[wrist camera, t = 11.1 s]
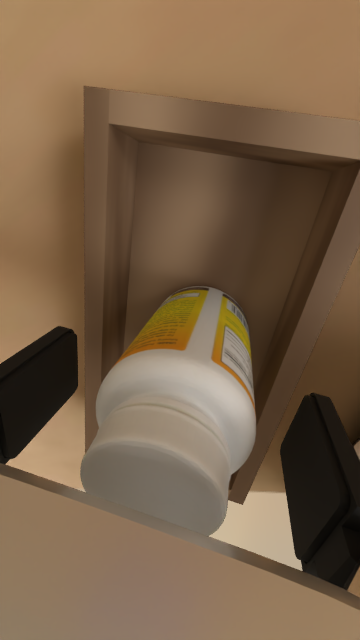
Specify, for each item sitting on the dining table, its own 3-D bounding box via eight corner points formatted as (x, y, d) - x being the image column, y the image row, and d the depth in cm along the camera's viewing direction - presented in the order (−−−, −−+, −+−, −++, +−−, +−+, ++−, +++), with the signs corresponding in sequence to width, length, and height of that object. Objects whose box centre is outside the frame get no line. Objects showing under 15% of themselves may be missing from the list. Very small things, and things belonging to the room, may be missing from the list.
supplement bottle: (146, 342, 17) (36, 502, 8) (177, 266, 14) (70, 371, 5) (222, 379, 17) (201, 585, 8) (267, 309, 14) (315, 490, 5)
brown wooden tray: (359, 151, 11) (412, 127, 8) (242, 451, 20) (242, 504, 17) (127, 119, 13) (84, 86, 9) (111, 412, 21) (85, 454, 18)
